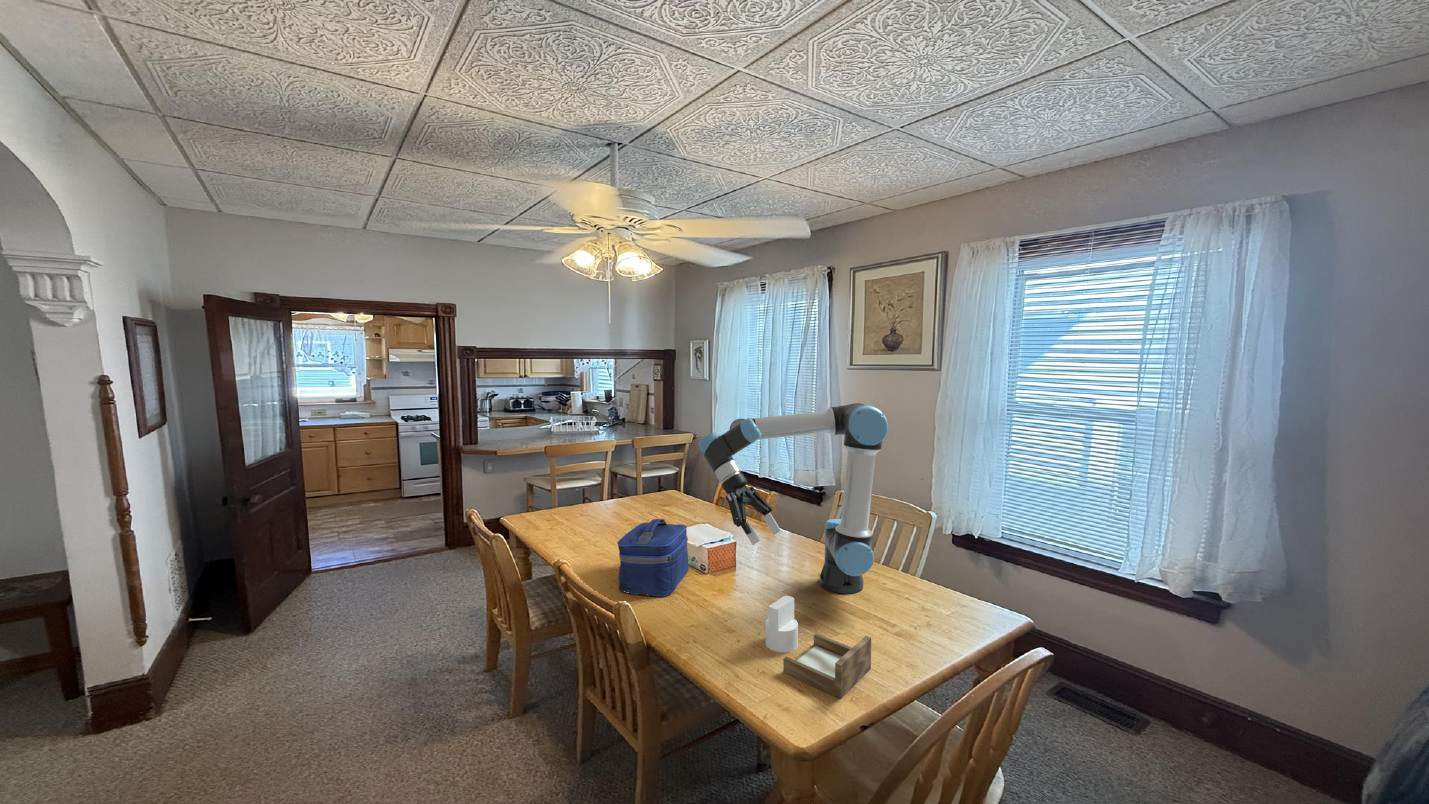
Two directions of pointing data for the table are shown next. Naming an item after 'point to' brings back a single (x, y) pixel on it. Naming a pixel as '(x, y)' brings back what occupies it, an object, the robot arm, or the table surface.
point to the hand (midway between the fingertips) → (767, 537)
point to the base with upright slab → (782, 626)
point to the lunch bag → (653, 558)
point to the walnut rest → (831, 665)
